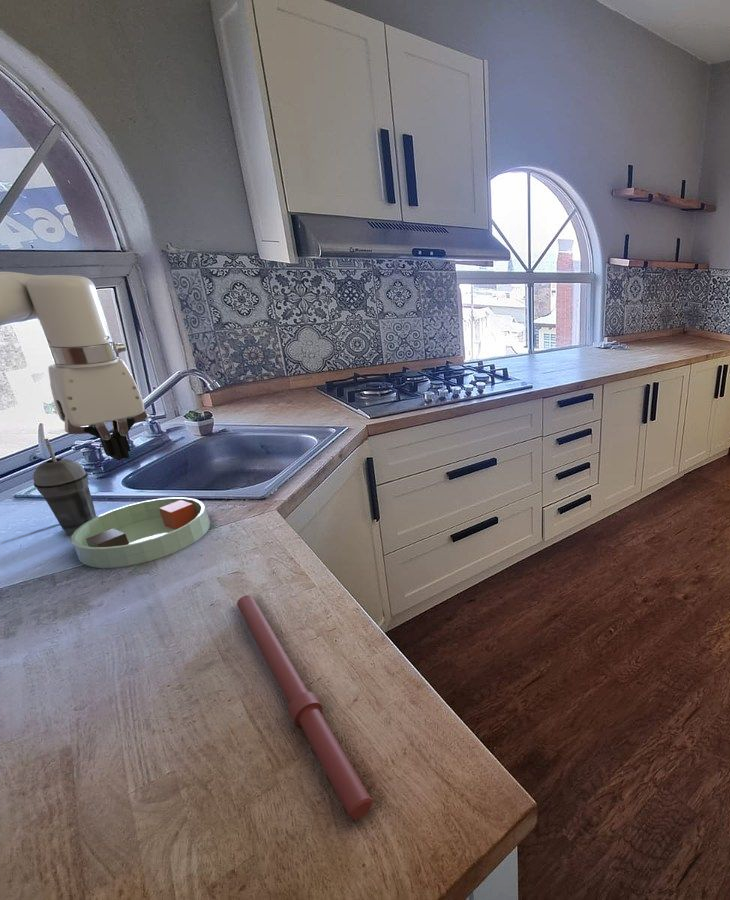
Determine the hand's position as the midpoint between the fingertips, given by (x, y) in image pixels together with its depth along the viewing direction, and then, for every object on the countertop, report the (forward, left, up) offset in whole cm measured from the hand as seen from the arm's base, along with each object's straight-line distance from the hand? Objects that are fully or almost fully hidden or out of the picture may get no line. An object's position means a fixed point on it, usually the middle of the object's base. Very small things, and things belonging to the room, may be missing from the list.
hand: (119, 457), depth 89 cm
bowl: (0, +2, -18) cm, 19 cm away
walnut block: (-5, +1, -18) cm, 19 cm away
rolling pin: (-7, -56, -19) cm, 59 cm away
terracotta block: (+6, +3, -18) cm, 19 cm away
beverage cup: (-4, +17, -19) cm, 25 cm away
